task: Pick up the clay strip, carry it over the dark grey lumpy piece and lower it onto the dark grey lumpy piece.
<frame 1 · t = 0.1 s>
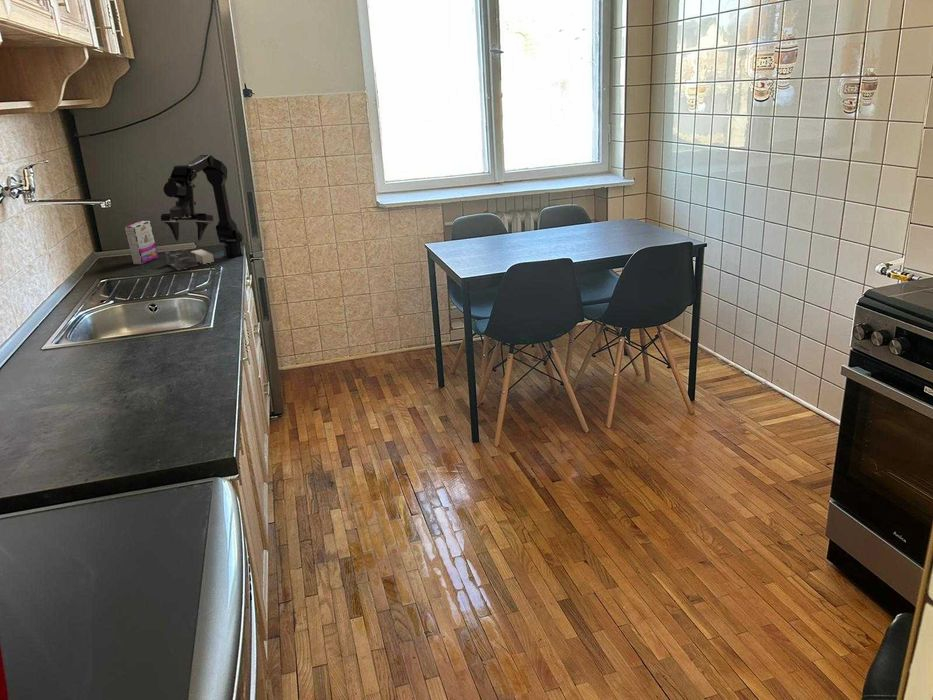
hand: (188, 240, 272), 15 cm above the countertop, tool pointing down, fingers open, 9 cm apart
dark grey lumpy piece: (182, 265, 297), on the countertop
clay strip: (203, 261, 303), on the countertop
candy bar box: (145, 261, 306), on the countertop
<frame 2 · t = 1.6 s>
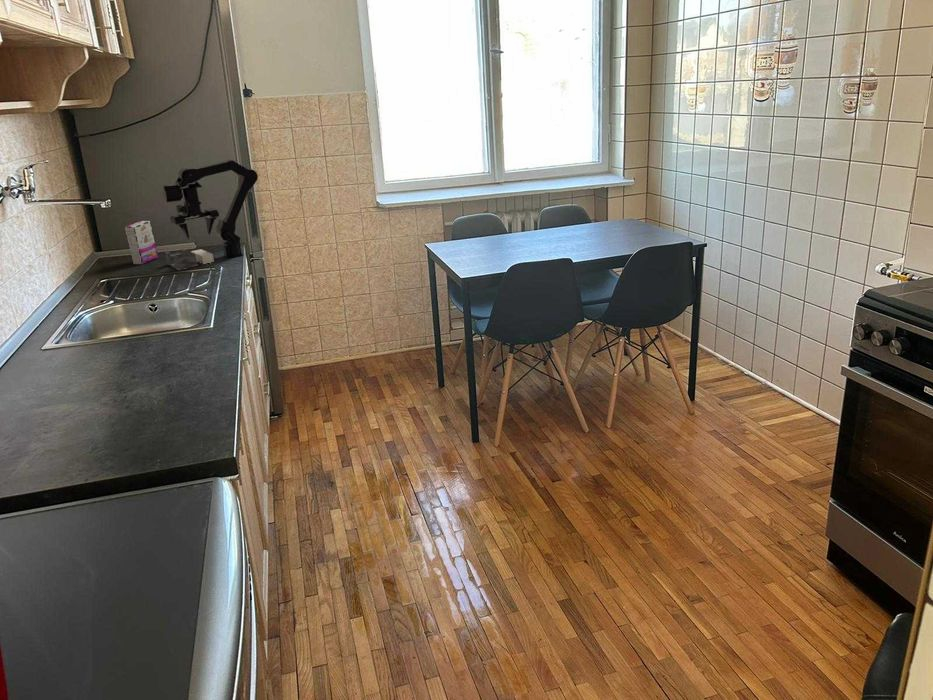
hand: (198, 236, 299), 11 cm above the countertop, tool pointing down, fingers open, 9 cm apart
nothing on the countertop moved.
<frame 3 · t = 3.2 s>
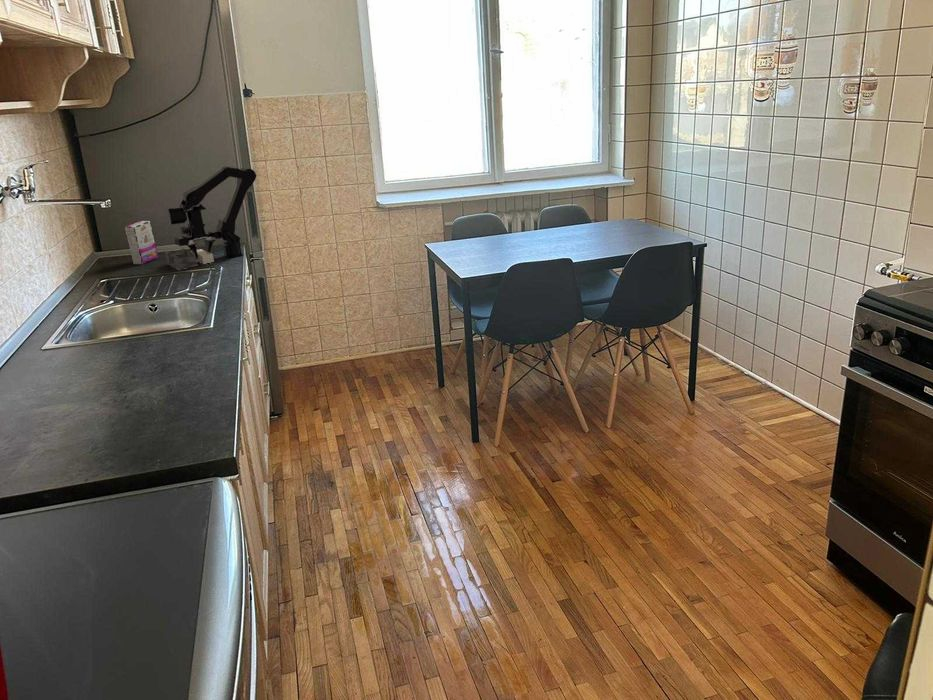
hand: (202, 257, 302), 2 cm above the countertop, tool pointing down, fingers closed on clay strip, 4 cm apart
clay strip: (203, 261, 303), on the countertop, touching gripper
everything else where it was.
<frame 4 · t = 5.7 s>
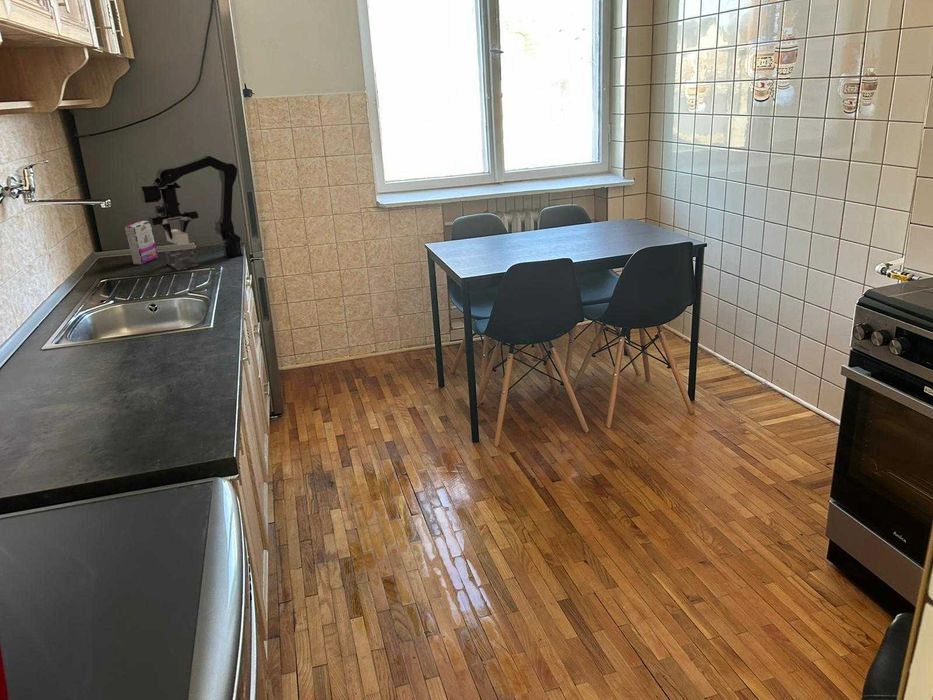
hand: (177, 238, 293), 12 cm above the countertop, tool pointing down, fingers closed on clay strip, 4 cm apart
clay strip: (177, 241, 293), point 10 cm above the countertop, touching gripper
everything else where it was.
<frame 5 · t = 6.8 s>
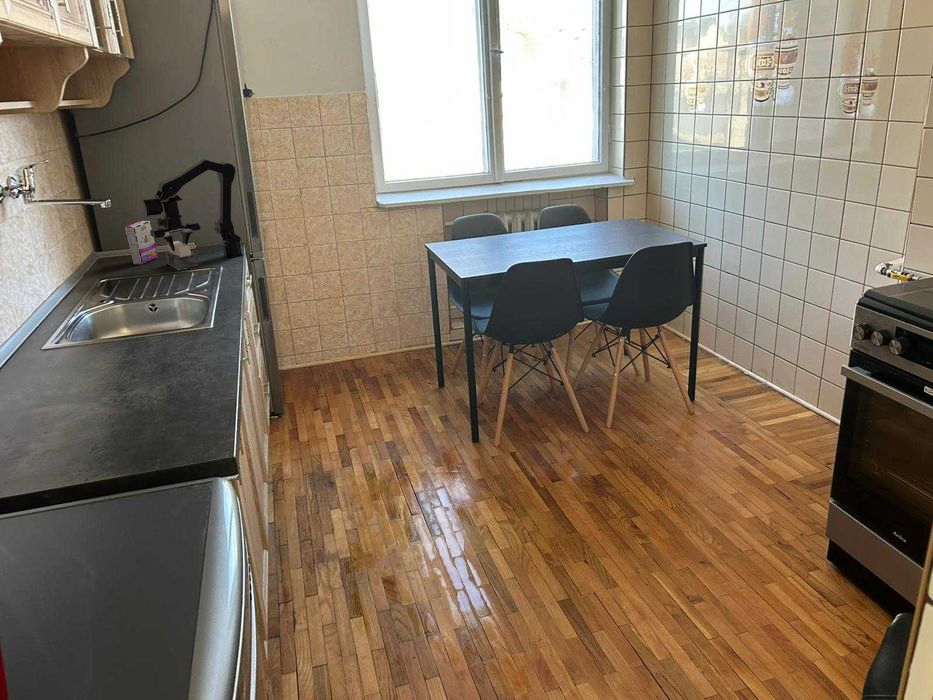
hand: (179, 250, 295), 7 cm above the countertop, tool pointing down, fingers closed on clay strip, 4 cm apart
clay strip: (180, 253, 295), point 5 cm above the countertop, touching gripper
everything else where it was.
when the fingers open (6 cm above the countertop, at t = 7.6 s): clay strip stays where it is, resting on dark grey lumpy piece.
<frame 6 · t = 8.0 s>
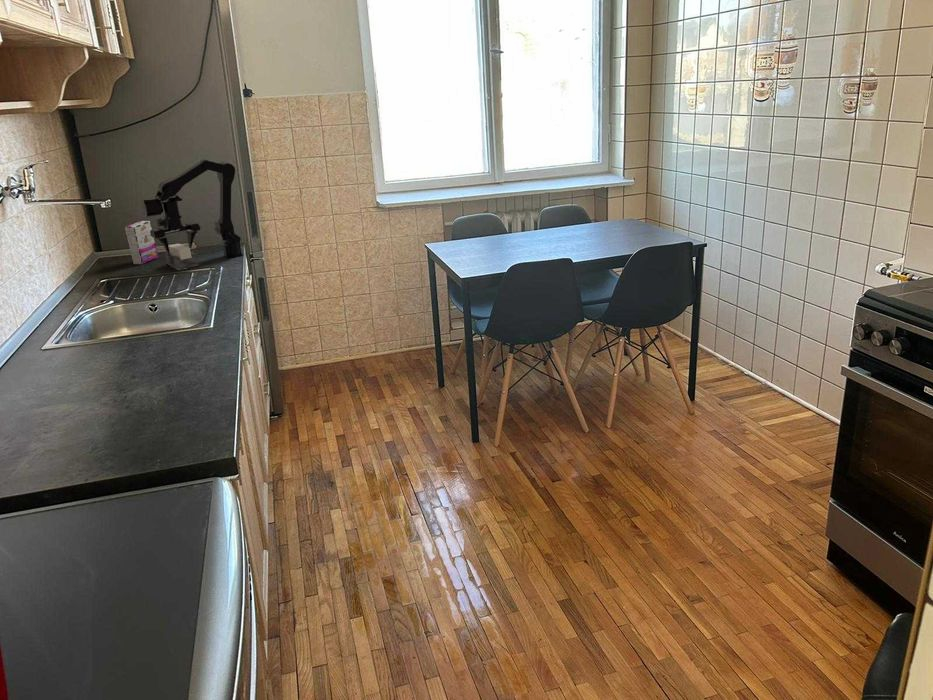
hand: (179, 250, 295), 6 cm above the countertop, tool pointing down, fingers open, 9 cm apart
clay strip: (180, 256, 296), point 4 cm above the countertop, touching dark grey lumpy piece
everything else where it was.
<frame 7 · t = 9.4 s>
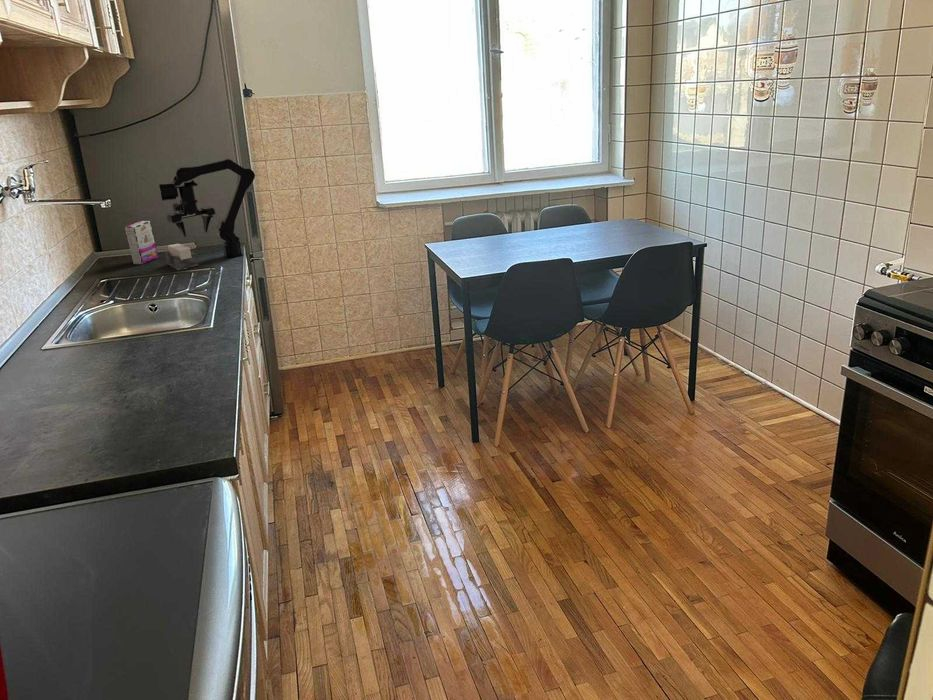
hand: (195, 234, 299), 11 cm above the countertop, tool pointing down, fingers open, 9 cm apart
nothing on the countertop moved.
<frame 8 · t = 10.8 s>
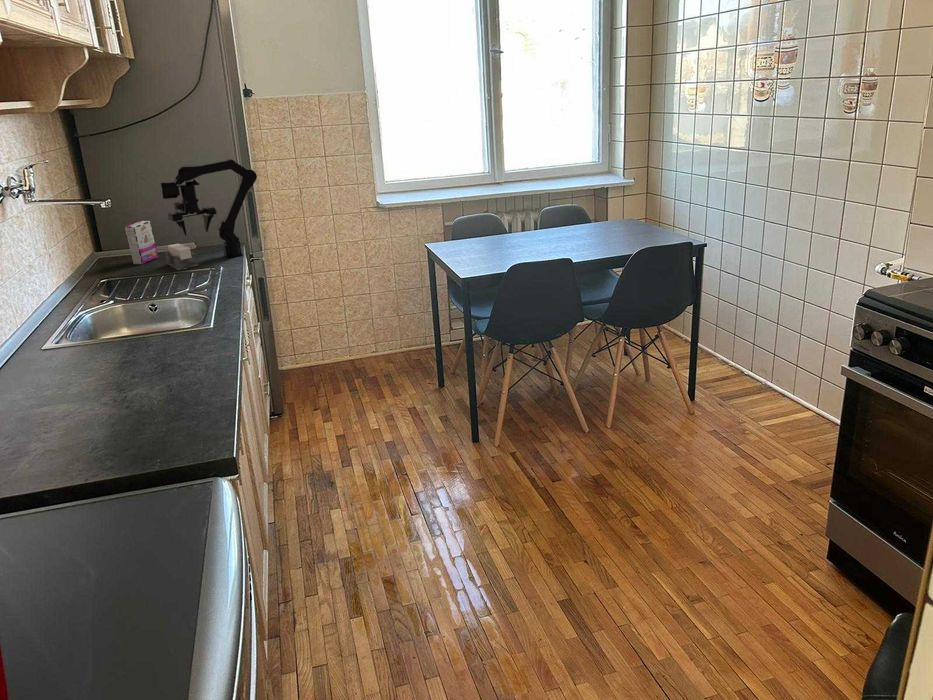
hand: (196, 233, 300), 12 cm above the countertop, tool pointing down, fingers open, 9 cm apart
nothing on the countertop moved.
at the end: clay strip 0.0 cm off-centre on the dark grey lumpy piece, point 4.0 cm above the dark grey lumpy piece's base; clay strip tilted 0°; the gripper is holding nothing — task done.
